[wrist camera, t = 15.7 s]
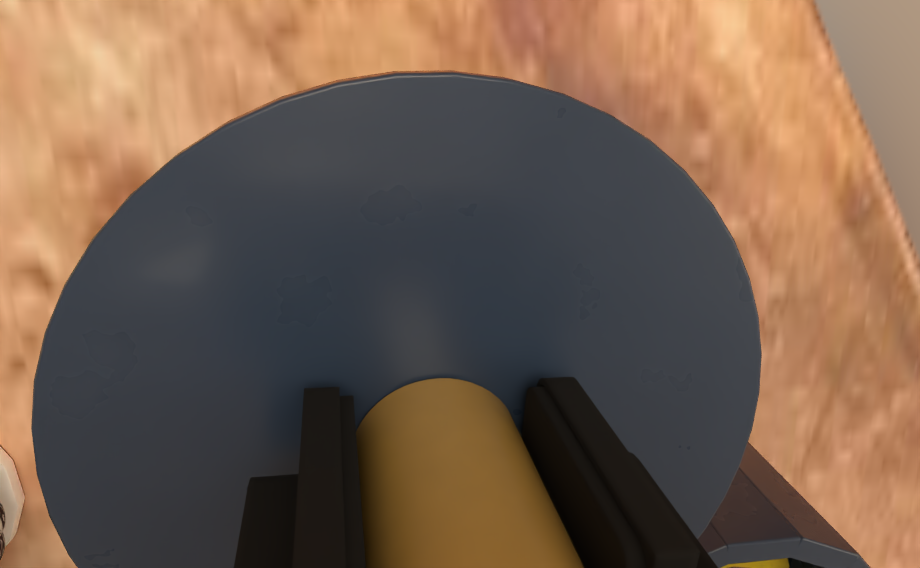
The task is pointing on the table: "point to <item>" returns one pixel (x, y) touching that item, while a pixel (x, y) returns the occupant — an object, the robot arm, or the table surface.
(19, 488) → the decorative candle
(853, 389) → the table surface
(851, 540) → the table surface
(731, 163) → the table surface
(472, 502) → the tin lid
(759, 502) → the tin
